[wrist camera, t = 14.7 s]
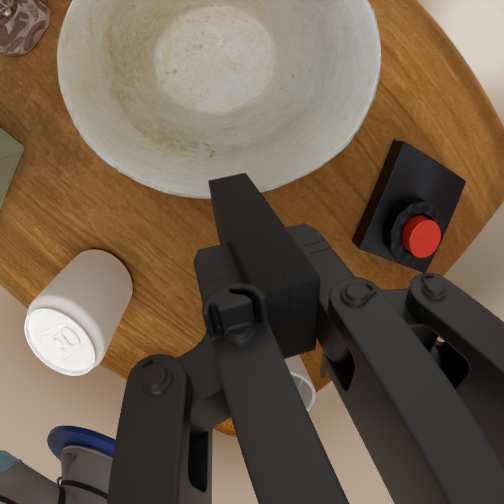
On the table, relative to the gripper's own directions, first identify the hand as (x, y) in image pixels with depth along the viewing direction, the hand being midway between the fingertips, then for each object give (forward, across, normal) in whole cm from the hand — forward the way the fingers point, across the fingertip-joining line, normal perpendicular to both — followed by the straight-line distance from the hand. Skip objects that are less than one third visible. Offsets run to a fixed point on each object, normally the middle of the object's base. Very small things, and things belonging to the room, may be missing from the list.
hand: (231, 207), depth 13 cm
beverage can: (+18, -14, -15) cm, 27 cm away
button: (+9, +20, -12) cm, 25 cm away
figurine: (+26, -17, +16) cm, 35 cm away
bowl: (+20, +4, +5) cm, 21 cm away
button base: (+12, +21, -11) cm, 27 cm away
